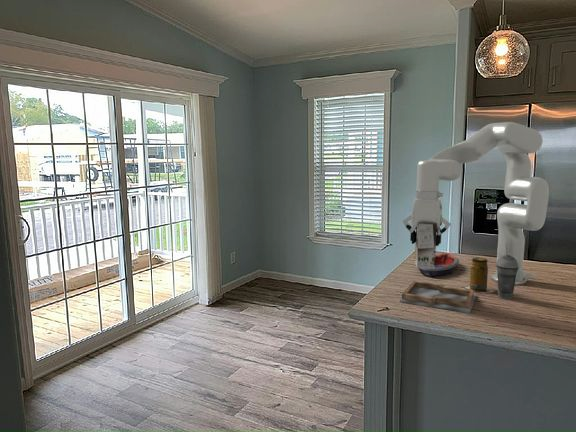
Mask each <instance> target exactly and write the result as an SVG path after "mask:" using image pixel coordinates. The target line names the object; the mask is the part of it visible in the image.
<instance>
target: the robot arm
mask: <svg viewBox="0 0 576 432" xmlns="http://www.w3.org/2000/svg"><path fill="white" fill-rule="evenodd" d="M542 146H543V136H542V134H541V133H540V132H539V131H538V130H536V129H534V128H532V127H528V126H526V125H523V124H520V123H518V122H513V121H503V122H492V123H489V124H485V125H484V126H483V127H482V128H480V129H479V130H478V131H476V132H475V133H474V134H472V135H471V136H470V137H468V138H467V139H465V140H464V141H461V142H458V143H456V144H454V145H451V146H449V147H446V148H445V149H442V150H440V151H438V152H437V153H435V154H434V155H433V156H431V157H430V158H429V159H427V160H425V159H424V160H419V161H418V163H417V166H416V167H417V168H416V169H417V172H416V193H415V194H416V196H415V198H414V199H413V204H412V210H411V215H410V216H408V217H407V218H405V219H403V220H402V223H403V224H404V226H405V228H406V229H407V230H408V232H409V233H410V239H409V240H410V242H411V244H412V245H415V242H416V227H417V223H436V224H437V232H436V247H438V246H440V244H441V242H442V234H444V233H445V232H446V231H447V230H448V229H449V228H450V227H451V226H452V224H451V222H449V221H448V220H447V219H446V218H445V217H443V205H442V199H440V198H442V197H443V196H444V192H441V191H440V181H445V182H452V181H455V180H458V179H459V178H460V177H461V176H462V174H463V171H464V170H463V166H462V164H467V163H472V162H475V161H478V160H479V159H481V158H483V157H484V156H485V155H487V154H488V153H490V151H492V150H494V148H497V149H498V150H499V151H500V152H501V154H502V155H503V157H504V159H505V162H506V172H505V179H504V180H505V181H504V191H503V193H504V195H505V197H506V198H507V199H509V200H514V201H521V202H526V203H527V204H522V203H517V202H516V203H515V202H507V203H503V204H502V205H501V206H499V208H498V209H497V212H496V219H497V228H498V236H497V237H498V238H497V252H496V254H497V255H496V262H497V261H498V259H499V258H500V257H502V256H504V255H505V243H507V255H510V256H513V257H514V258H515V259H516V260H517V262H518V267H519V268H518V271H517V274H516V280H515V286H516V285H517V286H518V285H524V284H526V283H527V280H528V279H529V280H536V274H532V273H530V272H528V273H527V272H525V271H524V256H525V255H524V253H525V243H526V239H525V234H524V231H523V230H525V231H526V230H527V231H534V232H535V231H539V230H541V229H542V228H543V227H544V224H545V223H546V217H547V211H548V203H549V198H550V197H549V196H550V187H549V184H548V181H546V180H545V179H544V178H542V177H539V176H531V175H532V174H531V172H532V162H531V161H532V160H531V159H530V156H529V155H528V154H533V153H537V152H538V151H540V149H542V148H541V147H542ZM409 221H410V223H409ZM443 224H444V226H443V228H442V229H441V226H442V225H443ZM496 267H497V266H496V265H495V268H496ZM495 270H496V271H495V273H493V274H492V275H491V280H493V281H495V282H497V283H498V278H497V268H496V269H495Z"/></svg>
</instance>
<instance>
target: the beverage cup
mask: <svg viewBox="0 0 576 432" xmlns="http://www.w3.org/2000/svg"><path fill="white" fill-rule="evenodd" d="M496 266H497V267H496ZM495 268H497V278H498V282H497V295H498V296H497V297H498V298H499V299H503V300H512V299H513V295H514V292H515V286H516V285H515V280H516V274H517V271H518V268H519V267H518V262H517V260H516V259H515V258H514V257H513V256H510V255H507V243H505V255H504V256H502V257H500V258H499V259H498V261H497V260H496V265H495Z"/></svg>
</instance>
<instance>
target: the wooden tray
mask: <svg viewBox="0 0 576 432" xmlns="http://www.w3.org/2000/svg"><path fill="white" fill-rule="evenodd" d="M476 298H477V293H475V291H473V290H469V289H466V288H457V287H451V286H450V287H449V286H445V284H441V283H433V282H425V281H418V280H413V281H412V282H411V283H410V284H409V285H408V287H406V288H405V290H404V291H403V292H402V293H401V298H400V299H399V302H400V303H404V304H411V305H417V306H422V307H428V308H433V309H440V310H447V311H453V312H460V313H466V314H470V313H471V310H472V308H473V305H474V303H475V301H476Z"/></svg>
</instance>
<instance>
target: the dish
mask: <svg viewBox="0 0 576 432" xmlns="http://www.w3.org/2000/svg"><path fill="white" fill-rule="evenodd" d="M459 262H460V259H459V258H458V257H457V256H455V255H453V254H451V253H449V252H448V253H447V252H445V253H435V269H426V268H418V271H419V272H420V273H421V274H422V275H426V276H430V277H431V276H432V277H433V276H434V277H436V276H443V275H446V274H450V273H452V272H454V271H455V270H456V268H457V267H458V264H459Z"/></svg>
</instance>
